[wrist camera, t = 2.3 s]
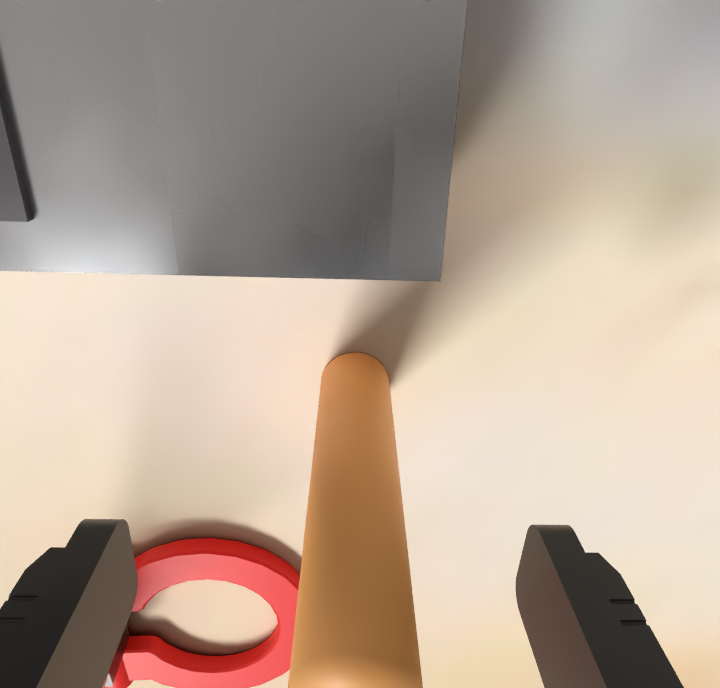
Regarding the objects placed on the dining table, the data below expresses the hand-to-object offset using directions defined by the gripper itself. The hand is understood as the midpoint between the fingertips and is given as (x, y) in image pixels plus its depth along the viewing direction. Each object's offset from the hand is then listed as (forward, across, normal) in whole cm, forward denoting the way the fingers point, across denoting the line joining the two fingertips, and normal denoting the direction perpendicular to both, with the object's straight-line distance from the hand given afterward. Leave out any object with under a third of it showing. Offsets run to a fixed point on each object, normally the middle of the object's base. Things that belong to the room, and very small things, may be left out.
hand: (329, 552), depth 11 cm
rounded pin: (+7, -1, 0) cm, 7 cm away
